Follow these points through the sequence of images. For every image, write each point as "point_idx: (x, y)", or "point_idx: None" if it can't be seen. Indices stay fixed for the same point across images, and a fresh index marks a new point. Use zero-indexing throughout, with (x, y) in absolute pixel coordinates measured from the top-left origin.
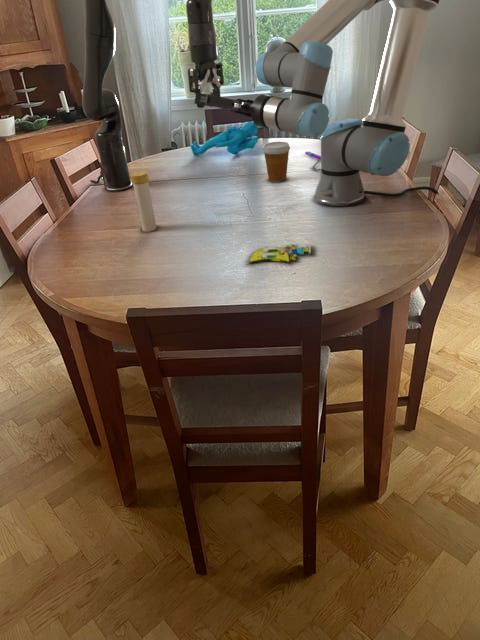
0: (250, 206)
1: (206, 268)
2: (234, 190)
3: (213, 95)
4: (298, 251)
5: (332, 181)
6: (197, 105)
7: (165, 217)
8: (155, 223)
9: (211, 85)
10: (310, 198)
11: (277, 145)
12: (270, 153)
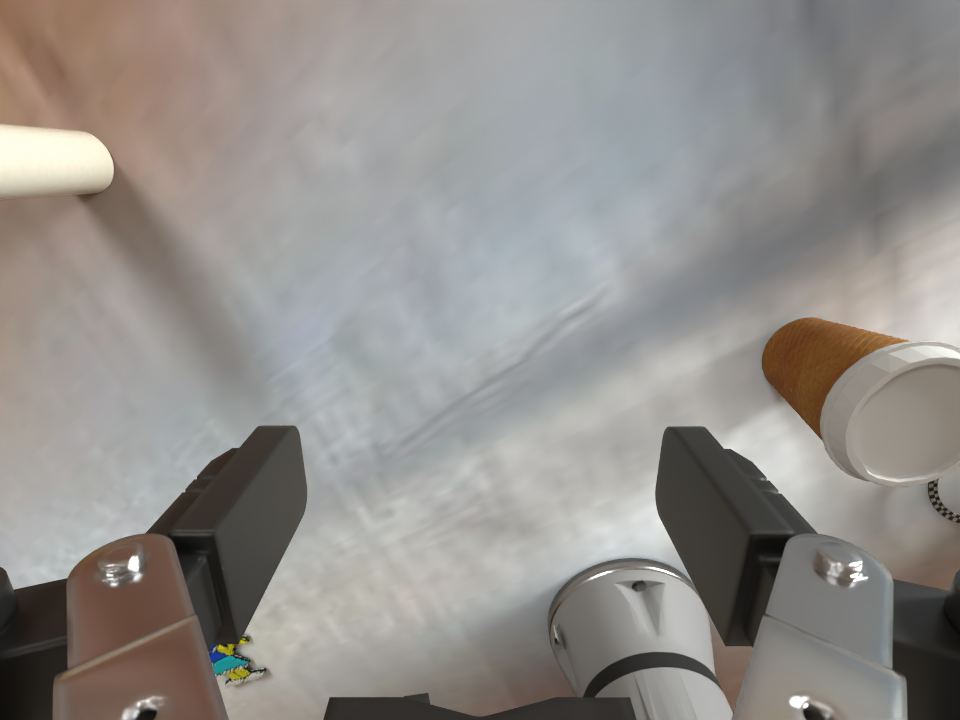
0: (465, 405)
1: (17, 521)
2: (623, 242)
3: (699, 476)
4: (218, 665)
5: (578, 684)
6: (229, 458)
7: (213, 140)
8: (90, 190)
9: (775, 582)
10: (603, 547)
11: (920, 426)
12: (823, 412)
